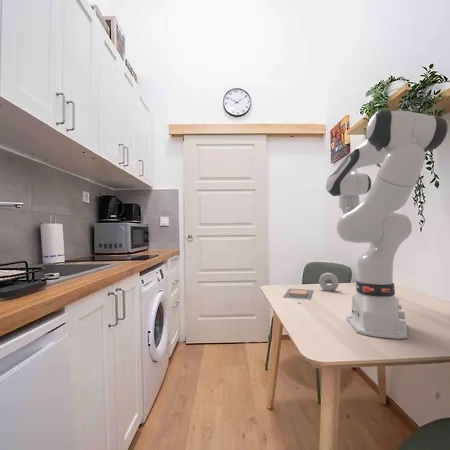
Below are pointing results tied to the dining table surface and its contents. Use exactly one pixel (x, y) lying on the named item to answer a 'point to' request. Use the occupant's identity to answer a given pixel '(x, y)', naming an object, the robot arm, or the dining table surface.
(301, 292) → the tile
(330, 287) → the donut
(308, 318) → the dining table surface
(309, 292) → the mat
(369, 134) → the robot arm
